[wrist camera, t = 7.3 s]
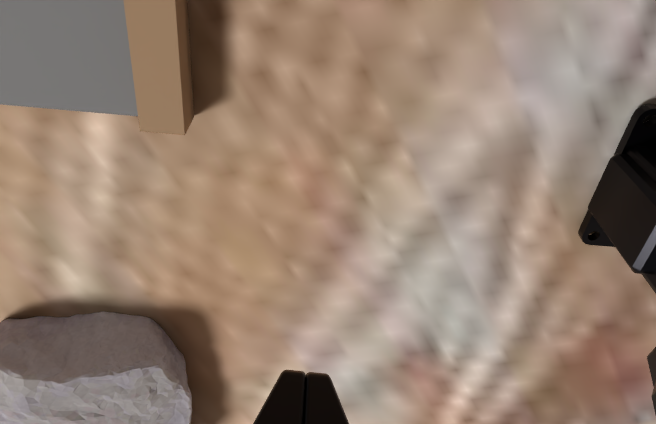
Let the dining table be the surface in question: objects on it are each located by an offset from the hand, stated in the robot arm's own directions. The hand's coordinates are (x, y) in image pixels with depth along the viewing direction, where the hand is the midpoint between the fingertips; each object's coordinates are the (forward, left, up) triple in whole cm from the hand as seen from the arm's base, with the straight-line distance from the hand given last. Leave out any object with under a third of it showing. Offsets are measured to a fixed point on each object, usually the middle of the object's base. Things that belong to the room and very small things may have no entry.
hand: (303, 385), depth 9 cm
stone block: (+10, +18, -13) cm, 25 cm away
